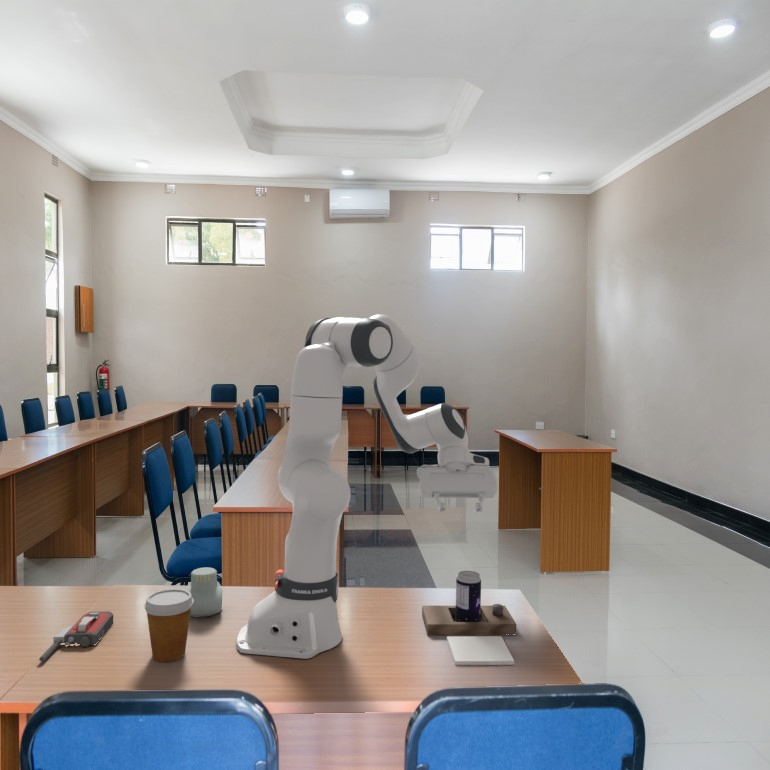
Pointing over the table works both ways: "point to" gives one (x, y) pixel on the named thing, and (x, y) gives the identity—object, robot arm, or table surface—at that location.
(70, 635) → the walkie-talkie
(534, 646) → the table surface
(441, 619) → the base
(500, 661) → the pad
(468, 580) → the beverage can
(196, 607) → the air freshener
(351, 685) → the table surface
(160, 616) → the disposable coffee cup
